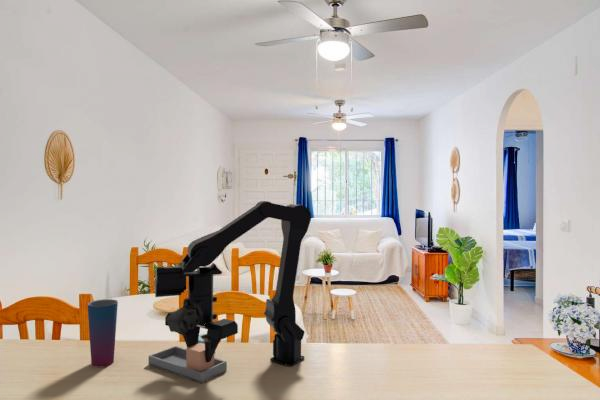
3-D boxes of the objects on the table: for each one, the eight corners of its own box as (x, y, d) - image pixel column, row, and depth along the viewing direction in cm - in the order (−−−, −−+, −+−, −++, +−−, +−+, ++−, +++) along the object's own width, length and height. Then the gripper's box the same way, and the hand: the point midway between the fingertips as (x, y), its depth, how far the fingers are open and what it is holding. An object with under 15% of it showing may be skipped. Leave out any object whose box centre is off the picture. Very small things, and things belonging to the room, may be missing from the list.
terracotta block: (214, 365, 104) (214, 346, 104) (200, 371, 101) (200, 351, 101) (200, 361, 107) (200, 342, 107) (186, 367, 103) (186, 348, 103)
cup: (122, 358, 112) (122, 299, 111) (108, 369, 105) (108, 306, 104) (97, 357, 112) (97, 298, 112) (81, 367, 105) (81, 305, 105)
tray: (226, 370, 105) (226, 361, 105) (200, 383, 98) (200, 373, 98) (175, 354, 115) (175, 345, 115) (148, 364, 108) (148, 355, 108)
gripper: (146, 294, 102) (146, 361, 102) (203, 307, 92) (203, 381, 92) (183, 286, 111) (183, 347, 111) (239, 296, 101) (239, 364, 101)
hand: (200, 359), depth 104 cm, fingers open, 5 cm apart
